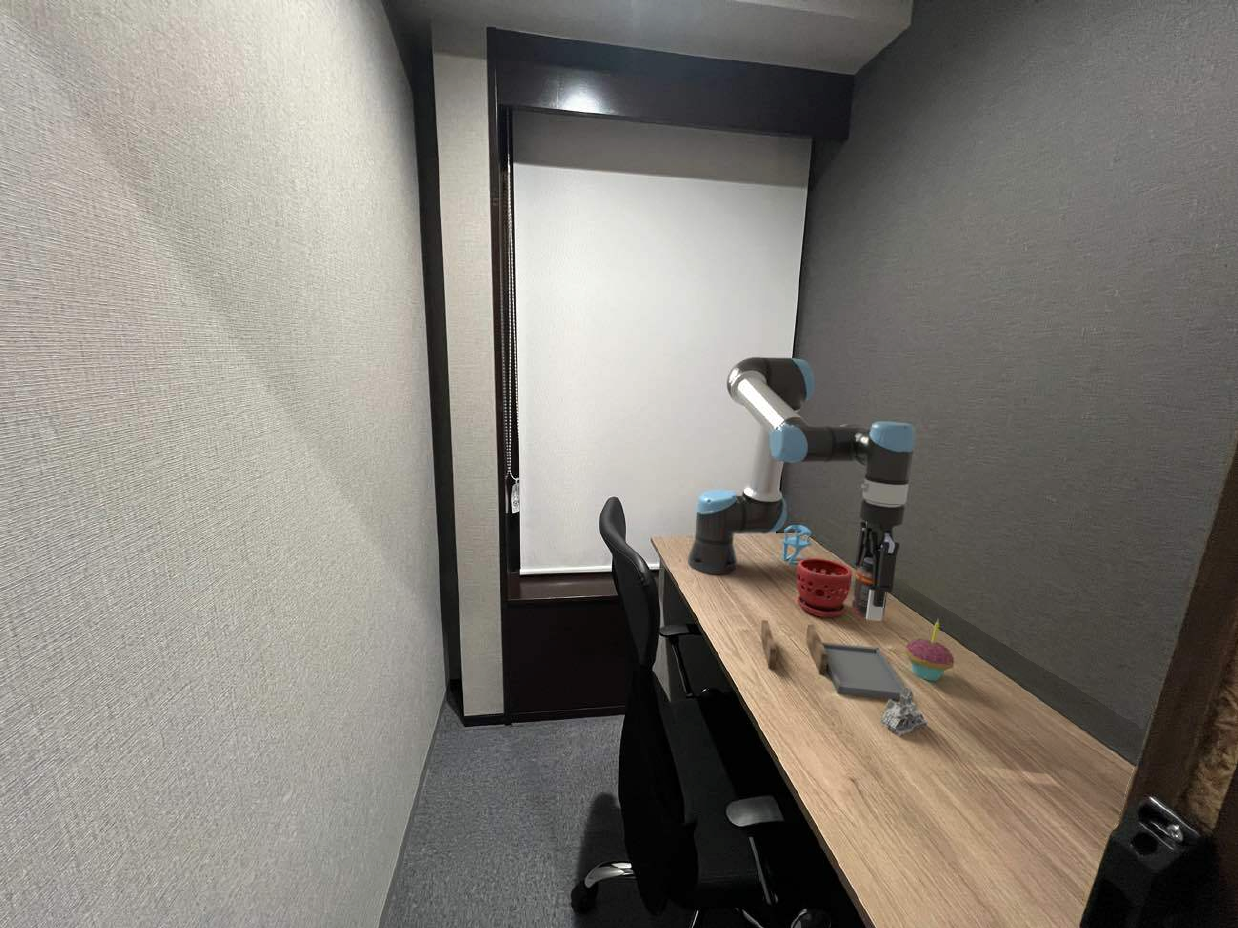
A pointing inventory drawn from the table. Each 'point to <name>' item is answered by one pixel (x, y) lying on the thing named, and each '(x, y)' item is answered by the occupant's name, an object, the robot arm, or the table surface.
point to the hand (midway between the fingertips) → (867, 611)
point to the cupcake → (929, 657)
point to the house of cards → (903, 714)
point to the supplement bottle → (863, 588)
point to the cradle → (811, 641)
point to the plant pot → (823, 586)
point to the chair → (795, 542)
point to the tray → (861, 671)
